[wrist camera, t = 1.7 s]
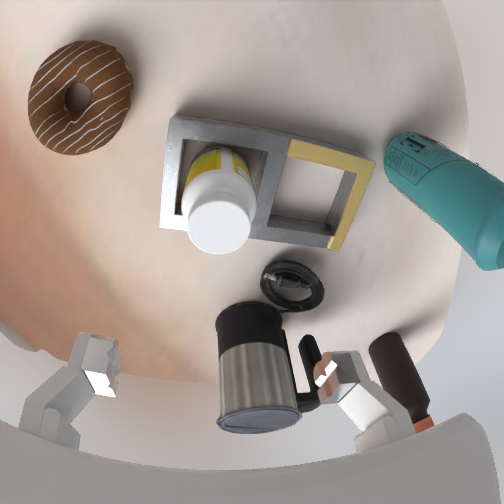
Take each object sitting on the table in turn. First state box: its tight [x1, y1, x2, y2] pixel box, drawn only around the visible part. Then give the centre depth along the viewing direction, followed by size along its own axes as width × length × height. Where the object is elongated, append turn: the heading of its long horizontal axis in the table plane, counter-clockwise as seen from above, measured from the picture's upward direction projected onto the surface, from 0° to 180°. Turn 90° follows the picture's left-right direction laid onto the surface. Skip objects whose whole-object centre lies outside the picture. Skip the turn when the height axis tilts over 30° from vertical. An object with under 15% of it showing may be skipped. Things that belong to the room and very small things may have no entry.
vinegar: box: [369, 333, 434, 433], centre depth 38 cm, size 7×7×20 cm
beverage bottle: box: [384, 132, 504, 271], centre depth 17 cm, size 6×7×20 cm
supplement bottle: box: [181, 147, 257, 254], centre depth 21 cm, size 5×5×10 cm
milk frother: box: [215, 260, 324, 434], centre depth 30 cm, size 14×16×15 cm
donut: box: [28, 41, 133, 155], centre depth 17 cm, size 11×11×4 cm
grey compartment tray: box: [160, 115, 375, 252], centre depth 25 cm, size 10×18×3 cm, turn 78°
